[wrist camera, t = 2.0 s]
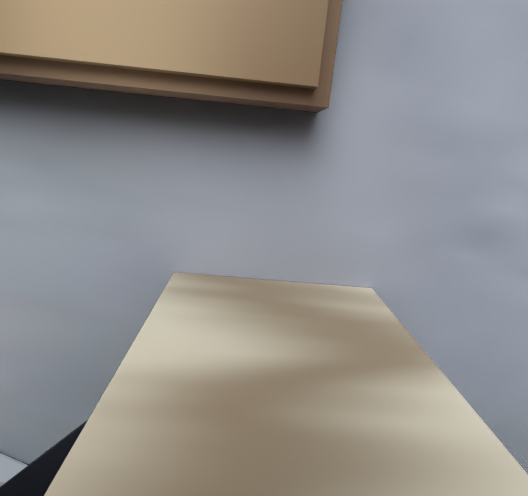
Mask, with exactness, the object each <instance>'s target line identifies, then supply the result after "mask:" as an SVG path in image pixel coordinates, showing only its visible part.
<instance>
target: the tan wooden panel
mask: <svg viewBox="0 0 528 496" xmlns="http://www.w3.org/2000/svg"><path fill="white" fill-rule="evenodd" d="M342 1H343V0H0V79H1V80H11V81H20V82H30V83H39V84H49V85H59V86H68V87H78V88H88V89H97V90H107V91H117V92H126V93H136V94H146V95H155V96H165V97H175V98H184V99H194V100H204V101H213V102H223V103H232V104H242V105H252V106H261V107H271V108H281V109H290V110H300V111H310V112H319V111H322V110H324V109H326V108H328V106H329V99H330V91H331V84H332V76H333V69H334V61H335V54H336V46H337V38H338V31H339V23H340V16H341V8H342Z"/></svg>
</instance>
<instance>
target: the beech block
mask: <svg viewBox="0 0 528 496" xmlns="http://www.w3.org/2000/svg"><path fill="white" fill-rule="evenodd" d="M44 496H528V474H527V473H526V472H525V470H524V469H523V468H522V467H521V466H520V464H519V463H518V462H517V461H516V460H515V458H514V457H513V456H512V455H511V454H510V452H509V451H508V450H507V449H506V448H505V446H504V445H503V444H502V443H501V442H500V441H499V439H498V438H497V437H496V436H495V435H494V433H493V432H492V431H491V430H490V429H489V427H488V426H487V425H486V424H485V423H484V421H483V420H482V419H481V418H480V417H479V416H478V414H477V413H476V412H475V411H474V410H473V408H472V407H471V406H470V405H469V404H468V402H467V401H466V400H465V399H464V398H463V396H462V395H461V394H460V393H459V392H458V390H457V389H456V388H455V387H454V386H453V385H452V383H451V382H450V381H449V380H448V379H447V377H446V376H445V375H444V374H443V373H442V371H441V370H440V369H439V368H438V367H437V365H436V364H435V363H434V362H433V361H432V359H431V358H430V357H429V356H428V355H427V354H426V352H425V351H424V350H423V349H422V348H421V346H420V345H419V344H418V343H417V342H416V340H415V339H414V338H413V337H412V336H411V334H410V333H409V332H408V331H407V330H406V328H405V327H404V326H403V325H402V324H401V323H400V321H399V320H398V319H397V318H396V317H395V315H394V314H393V313H392V312H391V311H390V309H389V308H388V307H387V306H386V305H385V303H384V302H383V301H382V300H381V299H380V297H379V296H378V295H377V294H376V293H375V292H374V290H373V289H372V288H363V287H350V286H338V285H325V284H313V283H300V282H288V281H276V280H263V279H251V278H238V277H226V276H214V275H201V274H189V273H176V272H174V273H173V275H172V277H171V279H170V280H169V282H168V284H167V285H166V287H165V289H164V291H163V292H162V294H161V296H160V297H159V299H158V301H157V303H156V304H155V306H154V308H153V309H152V311H151V313H150V315H149V316H148V318H147V320H146V321H145V323H144V325H143V327H142V328H141V330H140V332H139V333H138V335H137V337H136V339H135V340H134V342H133V344H132V346H131V347H130V349H129V351H128V352H127V354H126V356H125V358H124V359H123V361H122V363H121V364H120V366H119V368H118V370H117V371H116V373H115V375H114V376H113V378H112V380H111V382H110V383H109V385H108V387H107V388H106V390H105V392H104V394H103V395H102V397H101V399H100V400H99V402H98V404H97V406H96V407H95V409H94V411H93V412H92V414H91V416H90V418H89V419H88V421H87V423H86V425H85V426H84V428H83V430H82V431H81V433H80V435H79V437H78V438H77V440H76V442H75V443H74V445H73V447H72V449H71V450H70V452H69V454H68V455H67V457H66V459H65V461H64V462H63V464H62V466H61V467H60V469H59V471H58V473H57V474H56V476H55V478H54V479H53V481H52V483H51V485H50V486H49V488H48V490H47V492H46V493H45V495H44Z"/></svg>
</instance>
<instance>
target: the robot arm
mask: <svg viewBox="0 0 528 496" xmlns="http://www.w3.org/2000/svg"><path fill="white" fill-rule="evenodd" d="M87 421H88V420H87ZM87 421H86V422H84V423H83V424H82V425H80V426H79V427H78V428H76V429H75V430H74V431H72V432H71V433H70V434H69V435H67V436H66V437H65V438H63V439H62V440H61V441H59V442H58V443H57V444H55V445H54V446H53V447H51V448H50V449H49V450H48V451H46V452H45V453H44V454H42V455H41V456H40V457H38V458H37V459H36V460H34V461H33V462H32V463H30V464H29V465H28V466H26V467H25V468H24V469H23V470H21V471H20V472H19V473H17V474H16V475H15V476H13V477H12V478H11V479H9V480H8V481H7V482H5V483H4V484H3V485H2V486H0V496H44V495H45V493H46V492H47V490H48V488H49V486H50V485H51V483H52V481H53V479H54V478H55V476H56V474H57V473H58V471H59V469H60V467H61V466H62V464H63V462H64V461H65V459H66V457H67V455H68V454H69V452H70V450H71V449H72V447H73V445H74V443H75V442H76V440H77V438H78V437H79V435H80V433H81V431H82V430H83V428H84V426H85V425H86V423H87Z"/></svg>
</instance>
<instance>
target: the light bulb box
mask: <svg viewBox="0 0 528 496" xmlns="http://www.w3.org/2000/svg"><path fill="white" fill-rule="evenodd" d="M26 466H28V465H26V464H24V463H22V462H20V461H18V460H15V459H13V458H11V457H9V456H6V455H4V454H2V453H0V486H2V485H3V484H4V483H5V482H7V481H8V480H9V479H11V478H12V477H13V476H15V475H16V474H17V473H19V472H20V471H21V470H23V469H24V468H25V467H26Z"/></svg>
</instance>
